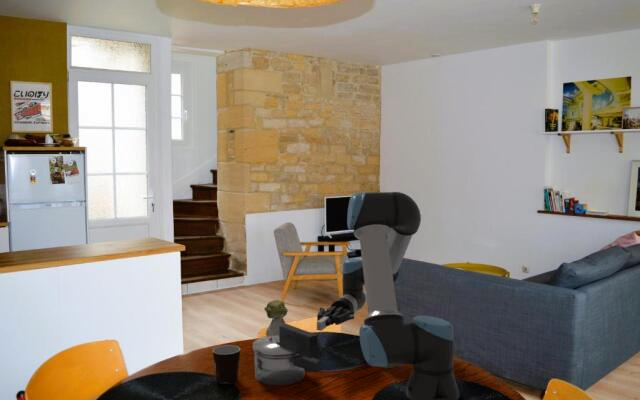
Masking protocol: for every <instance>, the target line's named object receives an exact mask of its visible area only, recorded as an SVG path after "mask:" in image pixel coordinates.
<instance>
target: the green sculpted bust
mask: <svg viewBox="0 0 640 400" xmlns="http://www.w3.org/2000/svg"><path fill="white" fill-rule="evenodd" d="M264 311H265V312H266V315H267V316H266V317H267V318H268V319H271V321H270V322H269V323H270V324H269V325H268V326H267V329H266V330H265V331H264V332H265V333H264V334H265V336H266V337H267V336H274V335H279V326H281V325H285V324H287V323H286V322H285V319H284V317H286V316H287V315H288V311H289V309H287V307H286V305H285V303H284V301H283V300H281V299H280V300H279V299H273V300H271V301H269V302H267V304H266V306H265V307H264Z"/></svg>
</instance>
